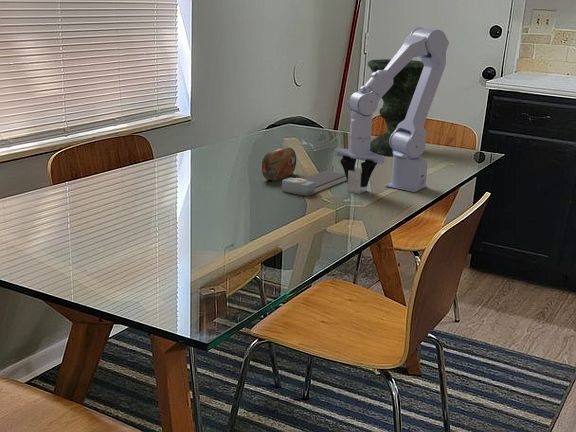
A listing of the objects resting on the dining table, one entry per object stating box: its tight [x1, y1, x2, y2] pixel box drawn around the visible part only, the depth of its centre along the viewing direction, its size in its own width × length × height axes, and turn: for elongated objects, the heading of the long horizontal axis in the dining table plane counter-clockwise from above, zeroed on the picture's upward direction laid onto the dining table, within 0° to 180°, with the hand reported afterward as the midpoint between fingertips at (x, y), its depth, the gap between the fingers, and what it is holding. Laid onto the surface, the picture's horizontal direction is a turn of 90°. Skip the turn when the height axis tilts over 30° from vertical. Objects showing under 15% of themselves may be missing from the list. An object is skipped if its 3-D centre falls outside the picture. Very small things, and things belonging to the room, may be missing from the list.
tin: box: [261, 147, 297, 182], centre depth 217 cm, size 15×3×8 cm, turn 147°
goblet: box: [367, 58, 424, 157], centre depth 253 cm, size 22×23×30 cm
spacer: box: [346, 167, 368, 195], centre depth 206 cm, size 4×4×6 cm
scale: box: [281, 170, 347, 197], centre depth 211 cm, size 8×23×4 cm, turn 146°
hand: (357, 185), depth 206 cm, fingers closed on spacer, 4 cm apart
